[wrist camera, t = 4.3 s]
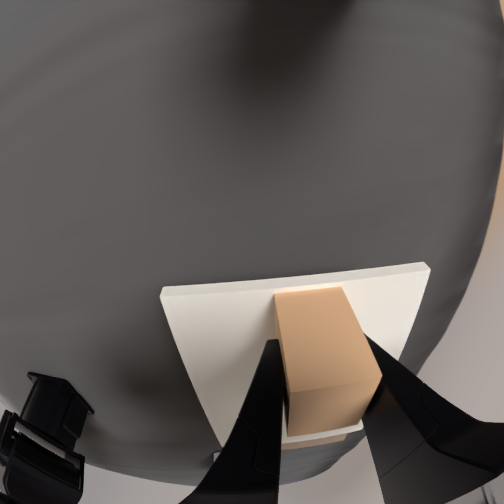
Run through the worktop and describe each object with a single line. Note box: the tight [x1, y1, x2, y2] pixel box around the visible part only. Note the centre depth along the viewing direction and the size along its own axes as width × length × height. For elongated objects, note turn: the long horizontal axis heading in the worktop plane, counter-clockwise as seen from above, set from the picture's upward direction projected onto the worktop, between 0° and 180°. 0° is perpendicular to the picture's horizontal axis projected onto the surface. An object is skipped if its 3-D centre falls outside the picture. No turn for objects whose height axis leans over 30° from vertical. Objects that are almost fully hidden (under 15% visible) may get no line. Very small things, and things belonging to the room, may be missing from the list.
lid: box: [160, 262, 431, 447], centre depth 11 cm, size 10×14×5 cm
